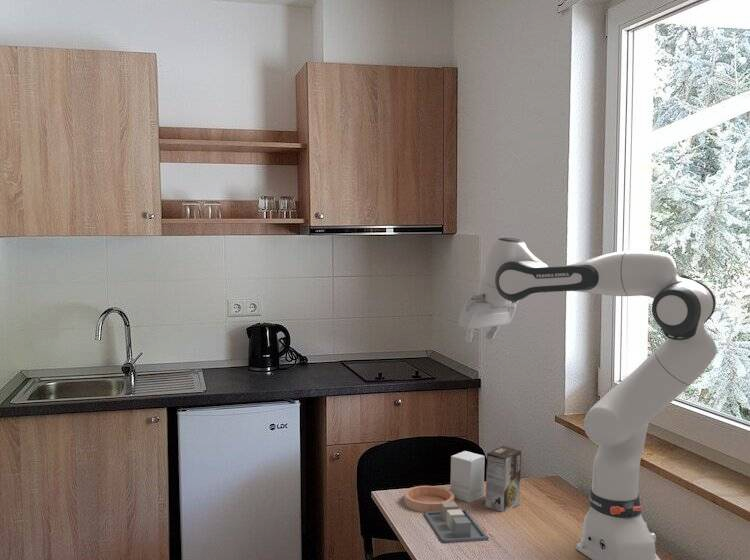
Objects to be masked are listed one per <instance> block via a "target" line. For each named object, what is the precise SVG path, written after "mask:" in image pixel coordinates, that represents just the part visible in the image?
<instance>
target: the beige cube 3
mask: <svg viewBox="0 0 750 560" xmlns="http://www.w3.org/2000/svg"><path fill="white" fill-rule="evenodd" d="M461 510H462V509H461V508H458V509H454V510H447V516H446V525H447V526H448V528H449V529H450V530H452V525H453V518H463V517H464V516H465V514H464V513H463V512H462V511H461Z"/></svg>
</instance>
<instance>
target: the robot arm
mask: <svg viewBox="0 0 750 560" xmlns="http://www.w3.org/2000/svg"><path fill="white" fill-rule="evenodd" d="M487 257H488V258H487V260H486V263H485V271H484V274H483V275H482V276H481V279H480V282H479V286H478V288H477V292H476V294H475V295H474V294H473V295H472V296H471V297H470V298H469V299H468V300H466V302H465V303H464V305H463V307H462V309H461V312H460V314H459V317H458V321H457V322H458V325H459V326H460V327H462V328H464V329H465V330H464V331H465V334H466V335H465V338H464V340H465V342H466V343H474V339H475V336H474V332H475V330H476V329H481V328H490V329H489V331H487V332H486V335H485V338H486V339H487V340H490V341H491V340H494V338H495V336H496V334H497V332H498V331H499V330H500V328H501V326H508V325H509V324H510V323H511V322H512V320H513V317H514V315H515V312H516V310H517V309H516V308H517V304H518V303H519V301H520V300H523V299H528V298H531V297H532V298H533V297H537V296H540V295H543V294H545V293H555V292H579V293H588V294H596V295H597V294H598V295H604V296H612V297H613V296H614V297H633V296H634V297H635V296H636V297H639V296H644V297H650V298H651V299H652V300H653V301H652V304H651V312H652V313H651V314H652V316H653V319H654V320H655V322H656V323H657V325H658V326H659V327H660V330H661V331H662V333H663V335H664V337H665V338H666V340H665V341H663V343H661V345H660V346H659V347H657V349H655V351H653V352H652V353H651V354H650V355H649V356H648V357H647V358H646V359H645V360H644V361H643V362H641V363H640V365H638V366H637V367H636V368H635V370H633V371H632V372H631V373H630V374H629V375H627V376H626V377H624V379H623V380H621V381H620V382H619V383H617V384H616V385H615V386H614V387H612V388H611V389H610V390H609V392H607V393H606V394H605V395H604V396H603V397H602V398H600V399H599V400H598V401H597V402H596V403H595V404H593V406H591V408H590V409H589V410H588V411H587V413H586V414H585V416H584V419H583V429H584V432H585V435H586V436H587V437H588V439H589V440H590V441H591V442H592V443H594V444H596V445H597V446H598V448H597V449H596V450H597V452H596V453H595V456H594V458H593V463H592V464H593V465H592V483H591V485H592V486H591V489H590V490H589V495H588V496H589V497H588V498H589V499H588V500H589V509H588V511H587V512H586V514H585V515H584V518H583V523H582V530H581V531H582V532H581V539H580V542H578V543H577V544H576V548H575V549H576V550H577V551H579V552H580V553H582V554H583V555H585V556H586V557H588V558H589V559H590V560H661V559H660V557H659V556H658V555H657V553H656V544H655V543H656V542H657V536H656V534H655V532H650V530H649V527H648V524H647V522H646V521H645V520H644V518H643V516H642V511H643V509H642V508H643V505H641V504H642V503H641V500H640V495H639V482H640V481H639V479H640V468H641V460H642V455H643V452H644V448H645V444H646V437H647V434H648V433H647V432H648V428H649V423H650V422H651V419H654V417H655V416H657V415H658V414H659V413H660V412H662V411H663V410H664V409H665V408H666V407H668V406H669V405H670V404H671V403H672V402H673V401H675V399H676V398H678V397H679V396H680V395H681V394H682V393H683V392H684V391H685V390H686V389H688V387H689V386H691V385H692V384H693V383H694V382H695V381H697V379H698V378H699V377H701V375H702V374H703V373H704V371H706V369H708V367H709V366H710V365H711V363H712V362H713V360H714V359H715V357H716V355H717V352H718V351H717V350H718V349H717V345H716V343H715V341H714V338H713V337H712V336H711V335H710V334H709V333H707V331H706V329H705V323H706V322H707V321H708V320H710V319H711V317H712V316H713V315H714V312H715V310H716V306H717V305H716V304H717V303H716V302H717V300H716V296H715V295H714V292H713V291H712V290H711V288H710V287H708V286H707V285H705V284H704V283H703V282H700V281H698V280H696V279H694V278H692V277H690V276H687V275H685V274H680V275H679V274H678V268H677V264H676V261H675V260H674V258H673V257H672V256H671V255H670V254H669V253H666V252H662V251H655V250H623V251H615V252H609V253H605V254H601V255H599V256H598V255H597V256H595V257H592V258H589V259H586V260H583V261H579V262H576V263H572V264H567V265H557V266H555V265H554V266H549V265H548V264H547V263H546V262H544V261H542V260H541V259H540V258H538V257H537V256H535V255H534V254H533V253H532V252H531V250H529V248H528V247H527V244H526V243H525V241H523V240H521V239H519V238H513V237H501V238H498V239H496V240H495V241H494V243H493V245H492V247H491V249H490V252H489V254H488V256H487Z"/></svg>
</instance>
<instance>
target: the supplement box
mask: <svg viewBox="0 0 750 560" xmlns="http://www.w3.org/2000/svg"><path fill="white" fill-rule="evenodd" d="M485 458H486V457H485V455H483V454H479V453H474V452H471V451H467V450H463V451H461V452H457V453H456V454H453V455H450V481H449V482H450V485H449V486H450V489H449V491H451V492H452V493H453V494H454V499H458V500H460V501H464V502H467V503H471V502H474V501H476V500H479V499H481V498H483V497H484V496H485V494H484V493H485Z"/></svg>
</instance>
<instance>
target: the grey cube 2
mask: <svg viewBox="0 0 750 560" xmlns="http://www.w3.org/2000/svg"><path fill="white" fill-rule="evenodd" d="M452 533H453V535H454V536H455V538H467V537H471V522H470V521H469V519H468V518H467V517H463V518H453V525H452Z"/></svg>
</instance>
